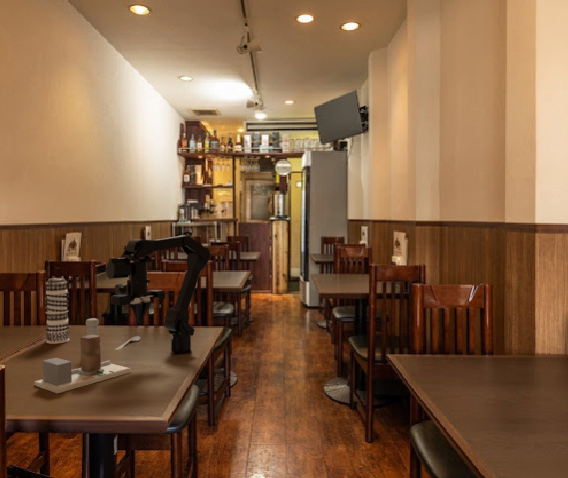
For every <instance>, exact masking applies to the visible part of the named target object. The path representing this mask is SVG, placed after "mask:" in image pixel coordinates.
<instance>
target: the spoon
mask: <svg viewBox="0 0 568 478" xmlns="http://www.w3.org/2000/svg"><path fill="white" fill-rule="evenodd" d="M140 340H141V336H139V335H136V336H133V337H131V338H130V339H128V340H127V341H126V342H124V343H122V344H121V345H119V346H118V347H116V348H115V351H116V350H118V351H119V350H121V349H123V348H124V347H125V346H126V345H127V344H128V343H129V342H138V341H140Z"/></svg>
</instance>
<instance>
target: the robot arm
mask: <svg viewBox="0 0 568 478" xmlns="http://www.w3.org/2000/svg"><path fill="white" fill-rule="evenodd" d="M175 248H181V250H182V251H183V253H184V254H185V255H187V256H186V265H187V268H186V271H185V272H186V273H185V275H184V278H183V281H182V284H181V287H180V291H179V293H178V296H177V298H176V301H175V305H174V306H173V307H172V308H167V310H166V315H165V317H164V318H163V320H164V326H165V328H166V330H167V331H168V334H169V335H171V338H170V341H169V343H170V351H171V353H173V354H172V355H179V354H180V355H181V354H188V353H192V352H193V351H192V347H191V346H192V345H191V342H192V339H191V336H194V334H195V328H194V327H193V326H191V324H190V322H189V321H190V313H189V308H190V305H191V301H192V299H193V296H194V293H195V289H196V287H197V283H198V280H199V277H200V275H201V272H202V271H203V270H204V269H205V268H206V267H207V265H208V263H209V261H210V259H211V252H210V249H209V248H208V247H206V246H204V245H202V244H201V243H199V242H198V241H196V240H195V239H193V238H192V237H191V236H190V235H188V234H187V235H185V234H180V235H178V236H171V237H165V238H159V239H136V238H135V239H131V240H129V241H128V243H127V244H126V248H125V250H124V251H123V253H122V254H121V256H120V257H118V258H117V257H109V258H108V262H107V265H106V267H105V273H106V276H107V278H108V279H109V280H115V279H125V278H126V279H127V278H128V277H129V279H127V281H126V284H124V285H123V284H122V283H117V284H115V285H114V292H115V294H114V295H112V296H111V298H110V305H113V306H114V305H115V306H129V307H130V308H131V310H132V311H133V314H134V317H135V319H136V322H137V323H138V324H141V323H143V320H144V317H145V315H146V313H147V311H148V309H149V307H150V306H151V304H153V301H151V299H153V298H157V300H165V299H166V291H165V290H162V289H161V290H160V289H150V290H149V289H148V285H149V283H151V279H150V278H148V263H154V260H153V259H152V258H151V257H150V256H149V255H153V254H154V253H156V252H158V251H163V250H170V249H175Z"/></svg>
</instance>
